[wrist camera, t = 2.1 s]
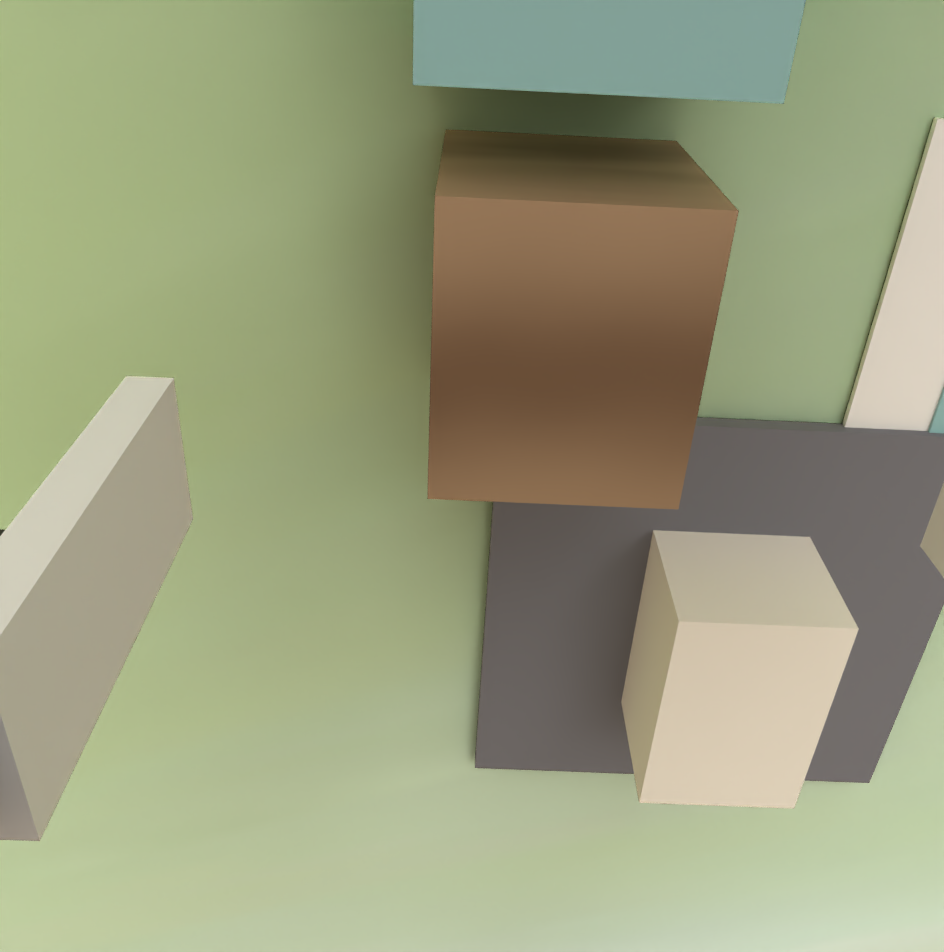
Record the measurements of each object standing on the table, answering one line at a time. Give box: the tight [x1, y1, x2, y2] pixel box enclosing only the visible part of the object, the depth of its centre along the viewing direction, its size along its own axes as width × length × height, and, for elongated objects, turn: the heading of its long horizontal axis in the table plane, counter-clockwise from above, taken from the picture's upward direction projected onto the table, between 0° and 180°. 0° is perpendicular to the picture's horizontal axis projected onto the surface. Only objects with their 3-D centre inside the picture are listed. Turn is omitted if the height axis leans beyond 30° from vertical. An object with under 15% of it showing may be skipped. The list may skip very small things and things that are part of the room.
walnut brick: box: [428, 129, 738, 509], centre depth 20 cm, size 6×5×6 cm
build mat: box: [475, 417, 944, 808], centre depth 27 cm, size 14×14×4 cm
